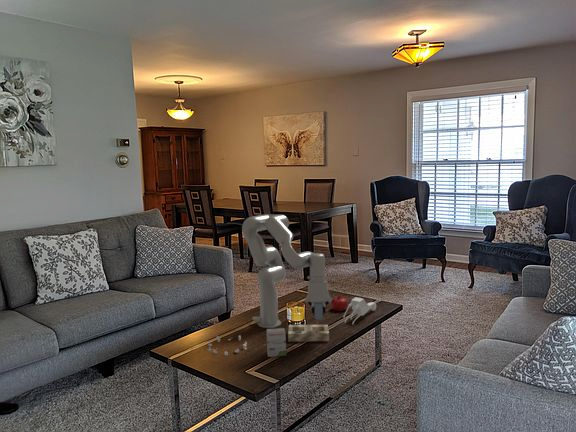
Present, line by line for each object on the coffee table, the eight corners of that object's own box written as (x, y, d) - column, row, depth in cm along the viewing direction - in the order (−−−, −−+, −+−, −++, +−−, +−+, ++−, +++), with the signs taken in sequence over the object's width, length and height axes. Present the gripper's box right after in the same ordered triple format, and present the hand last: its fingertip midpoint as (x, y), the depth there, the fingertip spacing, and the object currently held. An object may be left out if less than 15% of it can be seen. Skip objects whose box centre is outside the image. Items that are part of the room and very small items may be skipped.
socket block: (288, 341, 226) (288, 333, 226) (289, 332, 238) (288, 324, 237) (329, 341, 225) (329, 332, 225) (327, 332, 237) (327, 324, 237)
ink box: (285, 351, 214) (284, 327, 213) (286, 356, 209) (285, 331, 208) (267, 352, 213) (266, 328, 212) (267, 357, 208) (266, 332, 207)
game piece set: (203, 343, 227) (203, 336, 226) (242, 337, 234) (242, 330, 233) (211, 359, 209) (210, 351, 208) (253, 352, 215) (253, 344, 215)
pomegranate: (351, 309, 273) (351, 293, 272) (341, 313, 266) (340, 297, 265) (337, 305, 280) (337, 290, 279) (327, 309, 273) (327, 294, 271)
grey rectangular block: (314, 319, 228) (314, 303, 227) (314, 316, 232) (314, 301, 231) (322, 319, 228) (322, 303, 227) (322, 316, 232) (322, 301, 231)
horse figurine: (357, 339, 251) (379, 309, 269) (350, 313, 244) (373, 284, 262) (348, 337, 254) (371, 307, 273) (341, 311, 247) (365, 282, 265)
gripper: (300, 280, 224) (302, 317, 227) (335, 279, 224) (335, 316, 226) (300, 277, 232) (301, 312, 234) (334, 276, 231) (334, 311, 233)
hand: (318, 313), depth 230 cm, fingers closed on grey rectangular block, 4 cm apart
